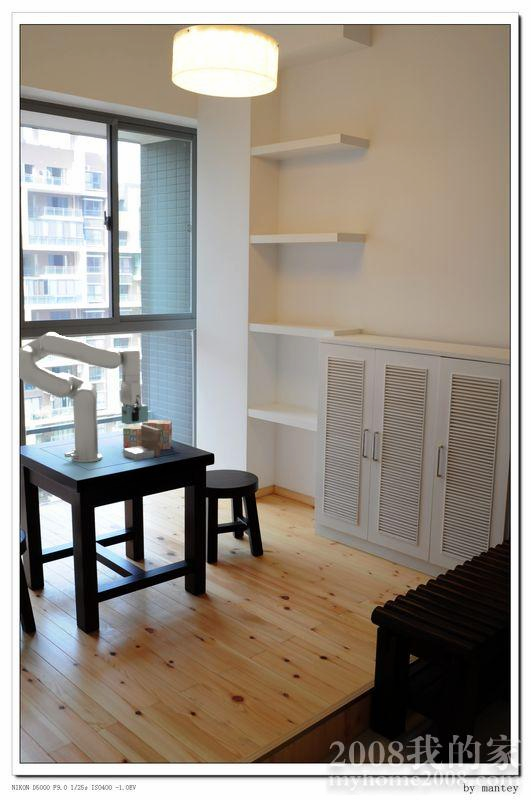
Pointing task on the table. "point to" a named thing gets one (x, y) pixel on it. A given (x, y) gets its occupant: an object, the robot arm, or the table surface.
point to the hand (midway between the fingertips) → (131, 419)
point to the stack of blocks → (134, 432)
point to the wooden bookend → (145, 444)
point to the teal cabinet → (128, 414)
